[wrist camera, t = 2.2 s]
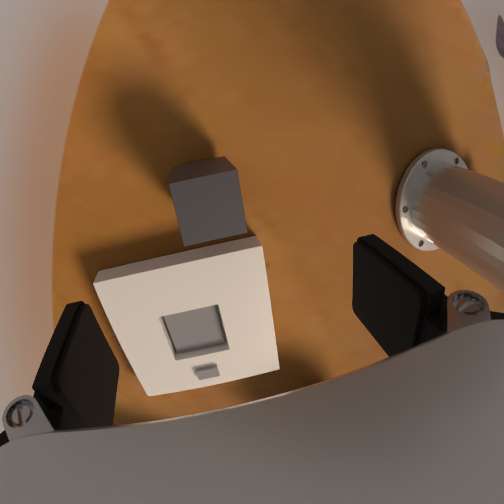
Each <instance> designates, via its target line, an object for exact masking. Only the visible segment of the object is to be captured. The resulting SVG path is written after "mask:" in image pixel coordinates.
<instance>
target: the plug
mask: <svg viewBox="0 0 504 504" xmlns="http://www.w3.org/2000/svg"><path fill="white" fill-rule="evenodd" d="M169 186H170V190H171V195H172V199H173V203H174V208H175V212H176V216H177V220H178V224H179V228H180V232H181V236H182V240H183V244H184V247H185V246H189V245H193V244H198V243H202V242H207V241H211V240H216V239H221V238H225V237H230V236H234V235H239V234H244V233H248V232H247V226H246V220H245V214H244V208H243V202H242V196H241V190H240V184H239V178H238V172H237V169H236V168H235V167H234V166H233V165H232V164H231V163H230V162H229V160H228V159H227V158H226V157H225V156H223V157H217V158H212V159H207V160H203V161H198V162H193V163H188V164H184V165H179V166H175V167H173V170H172V174H171V178H170V182H169Z"/></svg>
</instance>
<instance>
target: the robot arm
mask: <svg viewBox="0 0 504 504" xmlns="http://www.w3.org/2000/svg"><path fill="white" fill-rule="evenodd" d="M395 212H396V221H397V225H398V228H399V231H400V233H401V235H402V236H403V238H404V239H405V240H406V241H407V242H408V243H409V244H411V245H412V246H413V247H415V248H417V249H419V250H423V251H432V250H436V249H439V248H440V249H442V250H443V251H445V252H446V253H448V254H449V255H451V256H452V257H454V258H455V259H457V260H458V261H460V262H461V263H463V264H464V265H465V266H467V267H468V268H470V269H471V270H473V271H474V272H475V273H477V274H478V275H480V276H481V277H482V278H484V279H485V280H486V281H488V282H489V283H491V284H492V285H493V286H495V287H496V288H497V289H499V290H500V291H501V292H503V293H504V182H501V181H498V180H496V179H493V178H490V177H488V176H485V175H482V174H479V173H476V172H473V171H470V170H468V168H467V166H466V164H465V162H464V161H463V160H462V159H461V157H460V156H459V155H457V154H456V153H455V152H452V151H450V150H447V149H442V148H433V149H430V150H427V151H425V152H423V153H422V154H420V155H418V156H417V157H416V158H415V159H414V160H413V161H412V162H411V164H410V165H409V167H408V168H407V169H406V171H405V173H404V175H403V177H402V179H401V182H400V185H399V188H398V191H397V197H396V206H395ZM444 292H445V287H443V286H442V285H441V284H440V283H438V282H437V281H436V280H435V279H433V278H432V277H431V276H430V275H428V274H427V273H426V272H424V271H423V270H422V269H420V268H419V267H418V266H417V265H415V264H414V263H413V262H411V261H410V260H409V259H407V258H406V257H405V256H403V255H402V254H401V253H399V252H398V251H397V250H395V249H394V248H392V247H391V246H390V245H388V244H387V243H386V242H384V241H383V240H381V239H380V238H379V237H377V236H376V235H374V234H371V235H367V236H363V237H359V238H358V239H357V242H355V243H354V245H353V299H352V307H353V311H354V313H355V315H356V316H357V317H358V318H359V319H360V321H361V322H362V323H363V324H364V326H365V327H366V328H367V329H368V331H369V332H370V333H371V334H372V336H373V337H374V338H375V340H376V341H377V342H378V343H379V345H380V346H381V347H382V348H383V350H384V351H385V352H386V353H387V355H388V356H389V357H388V358H386V359H383V360H381V361H378V362H376V363H373V364H370V365H368V366H365V367H362V368H360V369H357V370H354V371H351V372H348V373H346V374H343V375H340V376H337V377H334V378H331V379H328V380H325V381H322V382H319V383H315V384H312V385H309V386H306V387H303V388H299V389H296V390H293V391H289V392H286V393H282V394H278V395H275V396H271V397H267V398H264V399H260V400H256V401H252V402H248V403H244V404H239V405H235V406H231V407H226V408H222V409H217V410H212V411H207V412H202V413H197V414H192V415H186V416H181V417H175V418H169V419H162V420H156V421H148V422H141V423H133V424H124V425H115V426H113V418H114V409H115V400H116V392H117V384H118V377H119V364H118V361H117V359H116V357H115V356H114V354H113V352H112V350H111V348H110V346H109V344H108V342H107V340H106V338H105V336H104V334H103V332H102V330H101V328H100V326H99V324H98V322H97V320H96V318H95V316H94V314H93V311H92V309H91V307H90V306H89V305H88V304H85V303H84V302H83V301H79V302H74V303H70V304H67V305H66V307H65V309H64V311H63V313H62V315H61V317H60V320H59V322H58V324H57V326H56V329H55V331H54V333H53V335H52V338H51V340H50V342H49V345H48V347H47V349H46V352H45V354H44V357H43V359H42V362H41V364H40V367H39V369H38V372H37V375H36V377H35V380H34V383H33V386H32V388H33V390H34V391H35V393H34V396H33V397H32V396H29V395H23V396H20V397H18V398H16V399H14V400H13V401H12V402H10V404H9V405H8V406H7V407H6V409H5V411H4V413H3V418H2V420H3V426H4V428H5V430H4V431H3V432H2V433H1V434H0V504H504V313H499V312H492V311H490V310H489V305H488V303H487V301H486V299H485V298H484V297H483V296H481V295H480V294H478V293H476V292H473V291H469V290H458V291H455V292H453V293H451V294H450V295H449V296H448V297H447V296H446V295H445V294H444Z"/></svg>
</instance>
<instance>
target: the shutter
mask: <svg viewBox="0 0 504 504" xmlns="http://www.w3.org/2000/svg"><path fill="white" fill-rule="evenodd" d="M164 319H165V322H166V324H167V327H168V330H169V332H170V335H171V337H172V340H173V343H174V345H175V348H176V350H177V352H182V351H187V350H192V349H197V348H201V347H206V346H211V345H215V344H220V343H224V342H225V341H224V337H223V333H222V330H221V326H220V322H219V318H218V314H217V311H216V307H215V305H212V306H208V307H203V308H199V309H194V310H190V311H185V312H180V313H175V314H171V315H166V316H164Z"/></svg>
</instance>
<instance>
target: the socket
mask: <svg viewBox="0 0 504 504" xmlns="http://www.w3.org/2000/svg"><path fill="white" fill-rule="evenodd" d="M93 285H94V287H95V290H96V292H97V295H98V297H99V299H100V302H101V304H102V306H103V308H104V311H105V313H106V315H107V317H108V319H109V322H110V324H111V326H112V328H113V330H114V332H115V334H116V336H117V339H118V341H119V343H120V345H121V347H122V349H123V351H124V353H125V355H126V357H127V358H128V360H129V362H130V364H131V366H132V368H133V370H134V372H135V374H136V375H137V377H138V379H139V381H140V383H141V384H142V386H143V388H144V390H145V392H146V393H147V395H148V396H154V395H160V394H167V393H173V392H179V391H184V390H190V389H195V388H200V387H205V386H210V385H215V384H220V383H225V382H229V381H234V380H238V379H242V378H247V377H251V376H255V375H259V374H263V373H267V372H271V371H275V370H278V369H280V368H279V361H278V353H277V346H276V339H275V332H274V324H273V317H272V310H271V303H270V296H269V289H268V282H267V275H266V268H265V261H264V255H263V248H262V244H261V243H260V241H259V239H258V238H257V236H252V237H247V238H243V239H238V240H233V241H229V242H224V243H220V244H215V245H211V246H206V247H202V248H197V249H193V250H188V251H184V252H179V253H175V254H170V255H166V256H162V257H157V258H153V259H148V260H144V261H140V262H135V263H131V264H127V265H122V266H118V267H114V268H110V269H105V270H101V271H98V274H97V276H96V278H95V280H94V282H93ZM212 305H215V307H216V311H217V314H218V318H219V322H220V326H221V330H222V333H223V337H224V341H225V342H224V343H220V344H215V345H211V346H206V347H201V348H197V349H192V350H187V351H182V352H177V350H176V348H175V345H174V343H173V340H172V337H171V335H170V332H169V330H168V327H167V324H166V322H165V319H164V316H166V315H171V314H175V313H180V312H185V311H190V310H194V309H199V308H203V307H208V306H212Z"/></svg>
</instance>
